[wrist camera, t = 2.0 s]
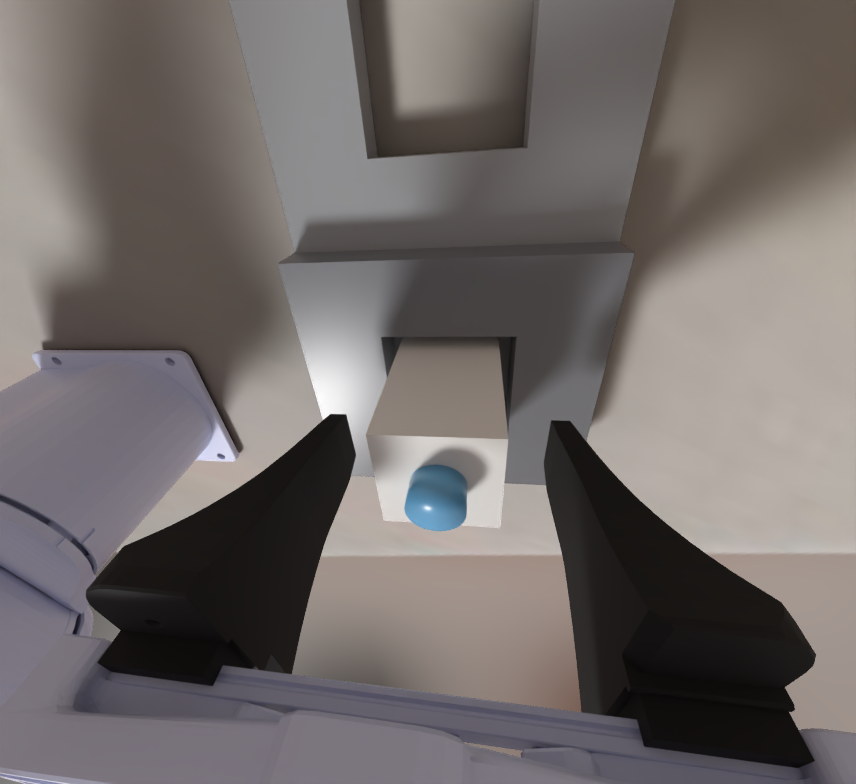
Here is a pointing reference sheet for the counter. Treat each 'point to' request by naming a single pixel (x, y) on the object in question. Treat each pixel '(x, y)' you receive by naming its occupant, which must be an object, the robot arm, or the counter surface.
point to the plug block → (441, 434)
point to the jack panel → (458, 211)
